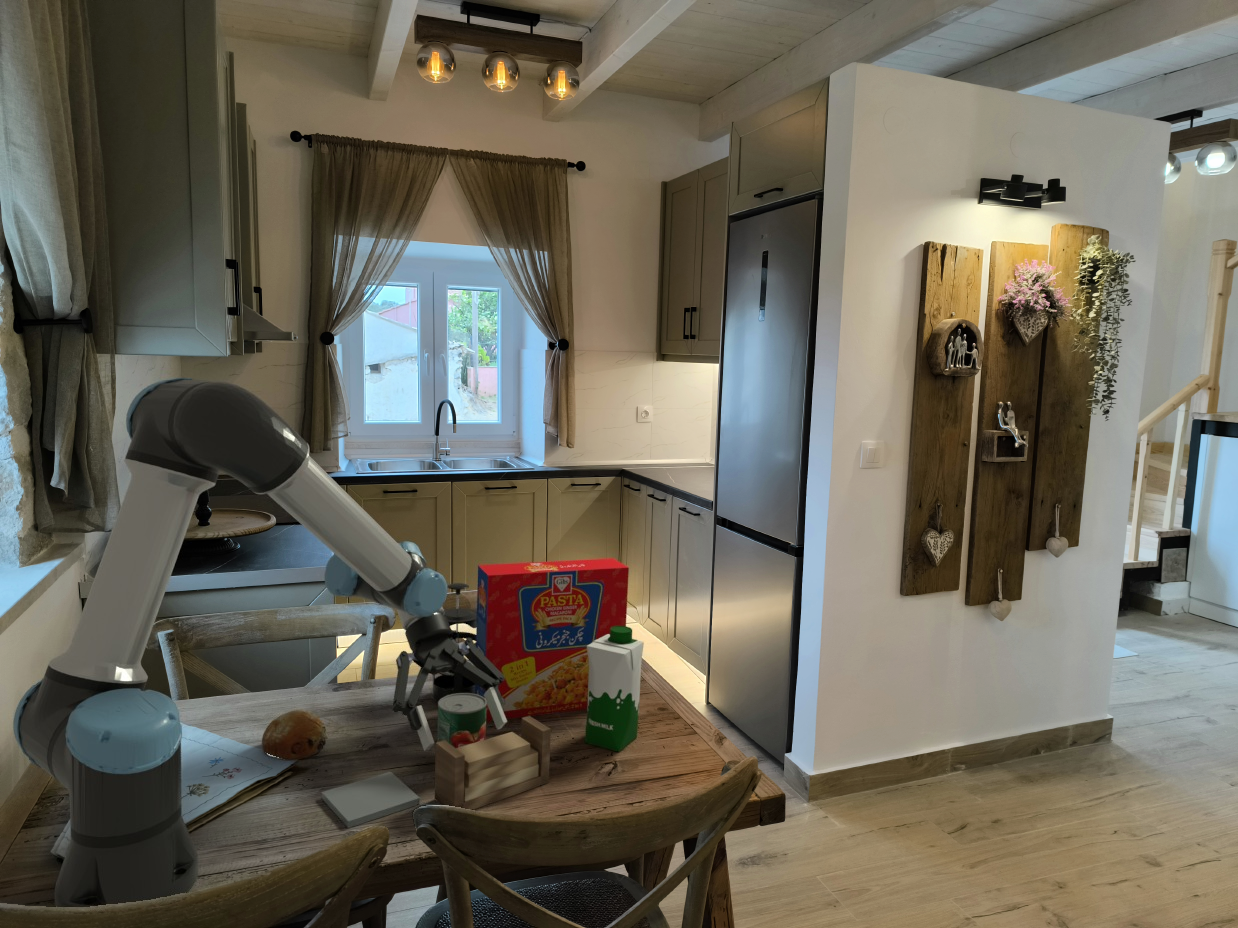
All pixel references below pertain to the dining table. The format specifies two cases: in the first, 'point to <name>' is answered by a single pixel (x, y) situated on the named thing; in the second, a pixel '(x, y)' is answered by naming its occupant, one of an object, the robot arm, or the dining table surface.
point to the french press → (452, 680)
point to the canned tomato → (462, 719)
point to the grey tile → (370, 799)
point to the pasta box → (546, 628)
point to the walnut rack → (452, 791)
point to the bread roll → (294, 735)
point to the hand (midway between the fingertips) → (467, 736)
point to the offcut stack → (497, 764)
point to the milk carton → (613, 689)
